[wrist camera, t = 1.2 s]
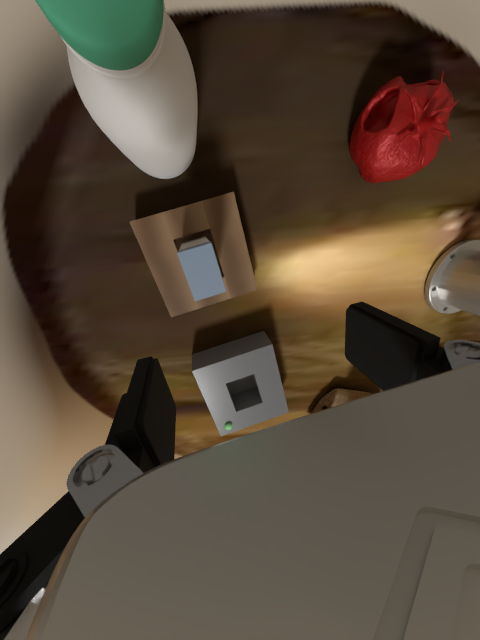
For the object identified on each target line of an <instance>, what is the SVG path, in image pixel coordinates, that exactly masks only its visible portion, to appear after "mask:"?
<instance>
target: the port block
mask: <svg viewBox="0 0 480 640" xmlns="http://www.w3.org/2000/svg"><path fill="white" fill-rule="evenodd" d="M192 372H193V374H194V377H195V379H196V381H197V383H198V386H199V388H200V390H201V392H202V395H203V397H204V399H205V401H206V404H207V406H208V408H209V410H210V413H211V415H212V417H213V419H214V422H215V424H216V426H217V428H218V431H219V433H220V435H221V436H223V435H226V434H229V433H232V432H235V431H237V430H240V429H243V428H246V427H249V426H251V425H254V424H257V423H260V422H263V421H265V420H268V419H271V418H274V417H277V416H279V415H282V414H285V413H288V412H289V411H288V407H287V403H286V399H285V395H284V390H283V386H282V382H281V378H280V374H279V369H278V365H277V361H276V357H275V353H274V348H273V344H272V343H271V341H270V339H269V338H268V336H267V335H266V333H265V332H264V331H261V332H258V333H255V334H252V335H249V336H246V337H243V338H240V339H237V340H234V341H231V342H228V343H225V344H222V345H219V346H216V347H213V348H210V349H207V350H204V351H201V352H198V353H195V354H192Z"/></svg>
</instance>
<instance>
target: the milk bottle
mask: <svg viewBox="0 0 480 640" xmlns="http://www.w3.org/2000/svg"><path fill="white" fill-rule="evenodd" d="M36 2H37V4H38V5H39V7H40V8H41V10H42V11H43V13H44V14H45V16H46V17H47V19H48V20H49V22H50V23H51V24H52V26H53V27H54V28H55V29H56V31H57V32H58V33H59V35H60V36H61V38H62V39H63V41H64V42H65V44H66V45H67V53H68V59H69V64H70V68H71V72H72V76H73V79H74V82H75V85H76V88H77V90H78V92H79V95H80V97H81V99H82V101H83V103H84V105H85V107H86V108H87V110H88V112H89V113H90V115H91V117H92V118H93V119H94V121H95V122H96V124H97V125H98V126H99V127H100V129H101V130H102V131H103V132H104V133H105V134H106V136H107V137H108V138H109V139H110V140H111V141H112V142H113V143H114V144H115V145H116V146H117V147H118V148H119V149H120V150H121V151H122V152H123V153H124V154H125V155H126V156H127V157H128V158H129V159H130V160H131V161H132V162H133V163H134V164H135V165H136V166H137V167H138V168H140V169H141V170H142V171H144V172H145V173H147V174H149V175H151V176H153V177H156V178H161V179H169V178H174V177H177V176H179V175H180V174H182V173H183V172H184V171H185V170H186V169H187V168H188V167H189V166H190V164H191V162H192V160H193V157H194V154H195V149H196V137H197V114H198V103H197V86H196V80H195V75H194V70H193V66H192V62H191V59H190V56H189V53H188V51H187V48H186V46H185V43H184V41H183V39H182V37H181V35H180V33H179V31H178V30H177V28H176V26H175V25H174V23H173V21H172V20H171V18H170V17H169V16H168V14H167V13H166V12H165V7H164V1H163V0H36Z"/></svg>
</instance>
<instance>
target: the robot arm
mask: <svg viewBox="0 0 480 640" xmlns="http://www.w3.org/2000/svg"><path fill="white" fill-rule="evenodd" d="M425 298H426V301H427V303H428V305H429V306H430V307H431V308H432V309H434V310H436V311H438V312H441V313H448V314H449V313H455V312H458V311H460V310H464V311H467V312H470V313H473V314H476V315H479V316H480V240H474V239H472V240H465V241H462V242H460V243H458V244H456V245H454V246H452V247H451V248H450V249H448V250H447V251H446V252H445V253H444V254H443V255H442V256H441V257H440V258H439V259H438V260H437V261H436V263H435V264H434V266H433V267H432V269H431V271H430V273H429V275H428V278H427V281H426V285H425ZM439 342H440V337H437V336H435V335H433V334H431V333H429V332H427V331H425V330H422V329H420V328H418V327H416V326H414V325H412V324H409V323H407V322H405V321H403V320H401V319H399V318H397V317H394V316H392V315H390V314H388V313H386V312H384V311H381V310H379V309H377V308H375V307H373V306H371V305H369V304H366V303H364V302H359V303H355V304H351V305H350V306H349V308H348V309H347V310H346V332H345V356H346V358H347V360H348V361H349V362H350V363H352V364H353V365H354V366H355V367H356V368H357V369H359V370H360V371H361V372H362V373H363V374H364V375H366V376H367V377H368V378H369V379H370V380H371V381H373V382H374V383H375V384H376V385H377V386H378V387H379V388H381V389H382V390H383V391H382V392H379V393H375V394H372V395H369V396H366V397H363V398H359V399H356V400H353V401H350V402H347V403H344V404H340V405H337V406H334V407H331V408H328V409H325V410H322V411H318V412H315V413H312V414H309V415H306V416H303V417H300V418H297V419H293V420H290V421H287V422H284V423H281V424H278V425H275V426H272V427H269V428H266V429H263V430H260V431H257V432H253V433H250V434H247V435H244V436H241V437H238V438H235V439H232V440H229V441H226V442H223V443H220V444H217V445H214V446H211V447H208V448H205V449H202V450H199V451H196V452H193V453H191V454H188V455H185V456H182V457H180V458H177V459H174V449H175V422H176V407H175V403H174V400H173V397H172V395H171V392H170V390H169V387H168V384H167V382H166V379H165V377H164V374H163V372H162V369H161V366H160V364H159V361H158V359H157V358H156V359H153V358H152V357H147V358H143V359H139V360H138V361H137V363H136V367H135V370H134V373H133V376H132V379H131V382H130V385H129V388H128V391H127V393H125V394H123V395H122V397H121V400H120V403H119V406H118V409H117V411H116V414H115V417H114V420H113V423H112V426H111V429H110V432H109V435H108V438H107V440H106V443H105V445H103V446H99V447H97V448H95V449H93V450H91V451H90V452H89V453H87V454H85V455H84V456H83V457H82V458H81V459H80V460H79V461H78V462H77V463H76V464H75V466H74V467H73V468H72V470H71V472H70V474H69V476H68V479H67V487H68V490H69V491H68V492H67V493H66V494H65V495H64V496H63V497H62V498H61V499H60V500H59V501H58V502H56V504H54V505H53V506H52V507H51V508H50V509H49V510H48V511H47V512H46V513H45V514H44V515H43V516H41V517H40V518H39V519H38V520H37V521H36V522H35V523H34V524H33V525H32V526H31V527H29V528H28V529H27V530H26V531H25V532H24V533H23V534H22V535H21V536H20V537H19V538H18V539H16V540H15V541H14V542H13V543H12V544H11V545H10V546H9V547H8V548H7V549H6V550H5V551H3V552H2V554H0V640H480V343H476V342H472V341H465V340H454V341H449V342H447V343H445V344H444V347H441V346H439Z"/></svg>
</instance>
